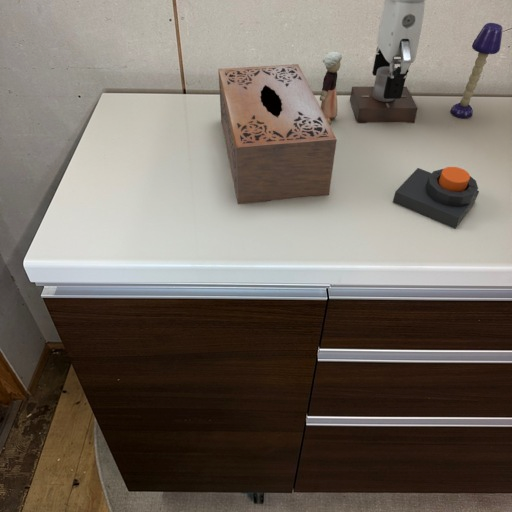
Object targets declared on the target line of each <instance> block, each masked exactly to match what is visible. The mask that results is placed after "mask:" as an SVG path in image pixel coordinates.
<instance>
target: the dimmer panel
mask: <svg viewBox="0 0 512 512" xmlns="http://www.w3.org/2000/svg"><path fill="white" fill-rule="evenodd" d="M373 90H374V86H351V91H350V97H349V102H350V105H351V108H352V111H353V114H354V115H353V116H354V118H355V120H356V123H357V124H358V123H359V124H361V123H363V124H366V123H407V124H409V123H411V124H412V123H415V120H416V117H417V114H418V110H419V107H418V105H417V104H416V102H415V100H414V98H413V96H412V94H411V91H409V89H408V87H407V86H404V88H403V92H402V96H401V98H400V99H395V100H393V101H390V102H382V101H378V100H376V99H374V98H373Z"/></svg>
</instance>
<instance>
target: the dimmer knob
mask: <svg viewBox="0 0 512 512" xmlns="http://www.w3.org/2000/svg"><path fill="white" fill-rule="evenodd" d="M396 68H397V67H395V70H396ZM387 76H390V67H380V68H378V70H377V74H376V76H375V79H374V84H373V87H374V90H373V98H374V99H376V100H378V101H382V102H390V101H393V100H395V99H385V98H384V97H383V95H384V90H385V85H386V80H387Z"/></svg>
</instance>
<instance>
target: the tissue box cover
mask: <svg viewBox="0 0 512 512" xmlns="http://www.w3.org/2000/svg"><path fill="white" fill-rule="evenodd" d="M217 70H218V71H217V72H218V87H219V105H220V108H219V109H220V121H221V126H222V131H223V137H224V142H225V146H226V151H227V156H228V162H229V166H230V171H231V177H232V181H233V186H234V191H235V196H236V202H237V204H238V205H241V204H251V203H260V202H261V203H263V202H271V201H280V200H289V199H290V200H291V199H300V198H310V197H321V196H330V191H331V190H330V189H331V184H332V175H333V168H334V162H335V155H336V148H337V141H338V139H337V137H336V135H335V133H334V131H333V129H332V127H331V126H330V125H331V124H330V125H329V123H328V121H327V119H326V118H325V116H324V114H323V112H322V110H321V105H320V104H319V102H318V100H317V98H316V96H315V94H314V92H313V91H312V88H311V87H310V85H309V83H308V81H307V79H306V77H305V75H304V72H303V71H302V68H301V67H300V65H299V64H298V63H295V64H294V63H293V64H280V65H277V64H276V65H263V66H262V65H261V66H245V67H232V68H231V67H230V68H218V69H217Z"/></svg>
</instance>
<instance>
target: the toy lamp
mask: <svg viewBox="0 0 512 512" xmlns="http://www.w3.org/2000/svg"><path fill="white" fill-rule="evenodd" d="M502 36H503V26H502V25H501V24H499V23H496V22H487V23H485V24H484V25H483V27H482V28H481V30H480V31H479V33H478V34H477V36H476V37H475V39H474V41H473V42H472V44H471V48H472V50H473V51H474V52H477V57H476V59H475V62H474V66H473V67H472V69H471V74H470V75H469V77H468V82H467V83H466V85H465V89H464V90H463V93H462V97H461V98H460V102H457V103H455V104H453V106H451V108H450V110H449V111H450V114H451V115H452V116H453V117H456V118H458V119H465V120H466V119H470V118H472V117H473V115H474V109H473V107H472V105H470V103H471V98H472V97H473V95H474V91H475V90H476V89H477V83H479V81H480V78H481V74H482V72H483V69H484V66H485V65H486V62H487V58H488V57H489V55H496V54H497V53H499V52H500V49H501V45H502Z"/></svg>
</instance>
